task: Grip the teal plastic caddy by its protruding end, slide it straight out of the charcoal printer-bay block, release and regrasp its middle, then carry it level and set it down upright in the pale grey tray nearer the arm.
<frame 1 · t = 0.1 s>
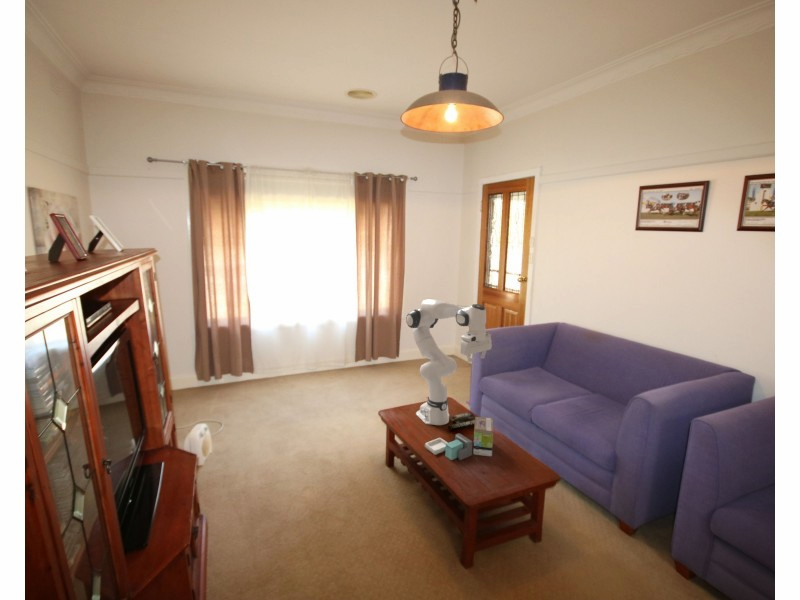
hand: (476, 360, 213), 48 cm above the table, fingers open, 8 cm apart
bay block: (459, 453, 210), on the table
tea box: (482, 448, 215), on the table
tray: (437, 447, 215), on the table
caddy: (454, 455, 208), on the table
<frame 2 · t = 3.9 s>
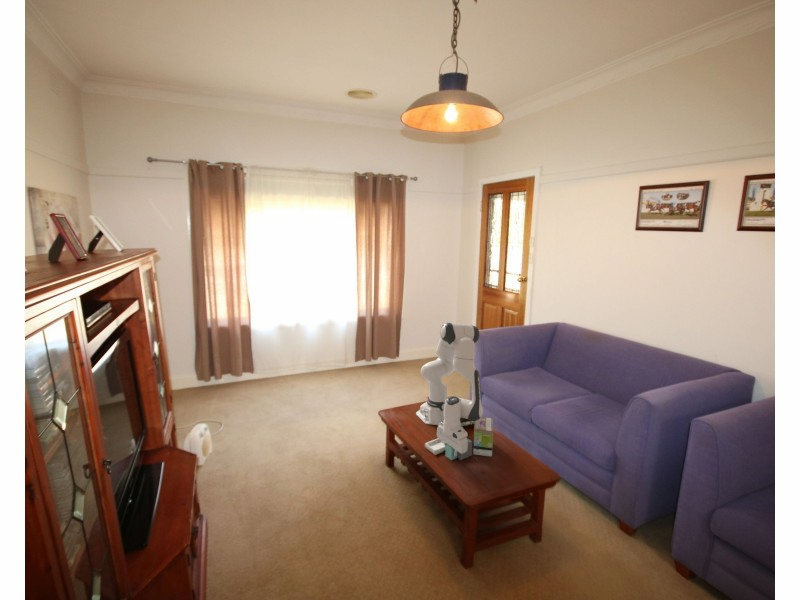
hand: (451, 452, 206), 2 cm above the table, fingers closed on caddy, 5 cm apart
caddy: (454, 455, 208), on the table, touching gripper
everything else where it was.
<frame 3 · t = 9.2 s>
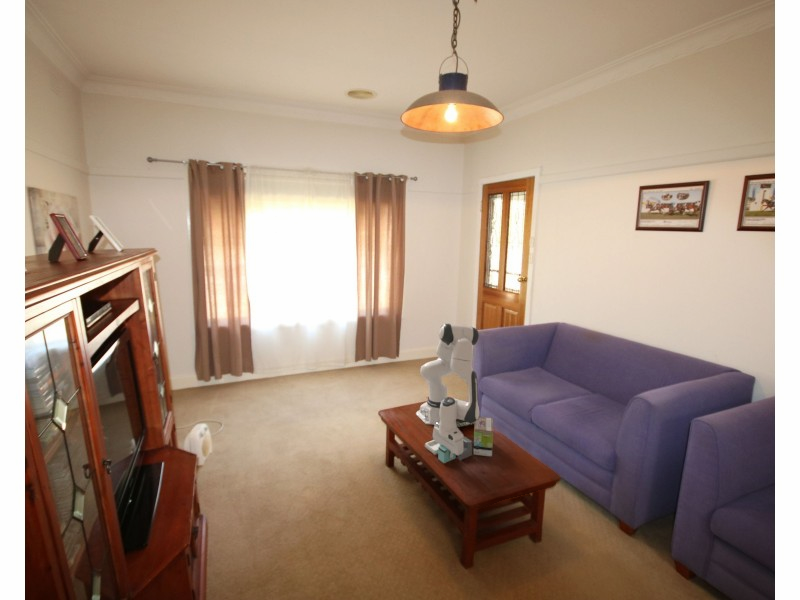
hand: (447, 454, 205), 2 cm above the table, fingers closed on caddy, 5 cm apart
caddy: (446, 458, 205), on the table, touching gripper
everything else where it was.
when the fingers open (5 cm above the table, at t = 16.1 s): caddy drops 2 cm, resting on tray.
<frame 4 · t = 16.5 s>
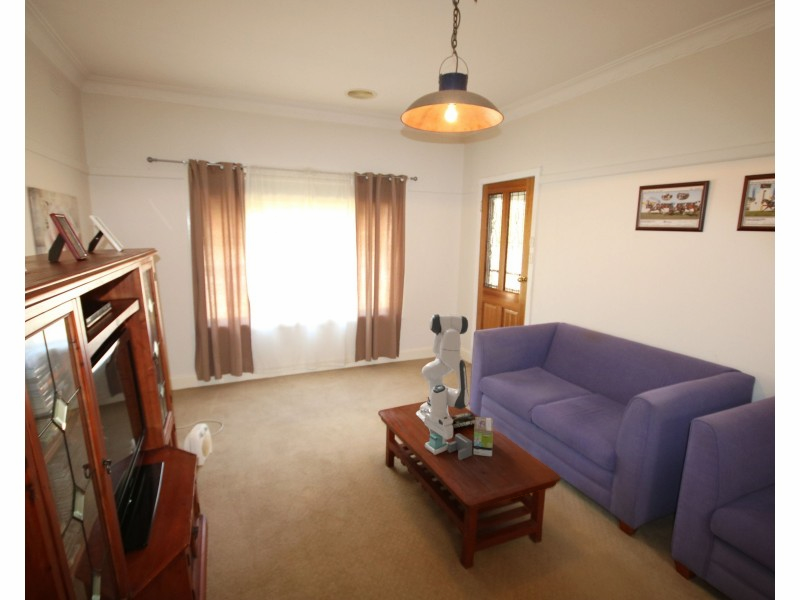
hand: (437, 439, 214), 5 cm above the table, fingers open, 8 cm apart
caddy: (437, 446, 215), point 1 cm above the table, touching tray
everything else where it was.
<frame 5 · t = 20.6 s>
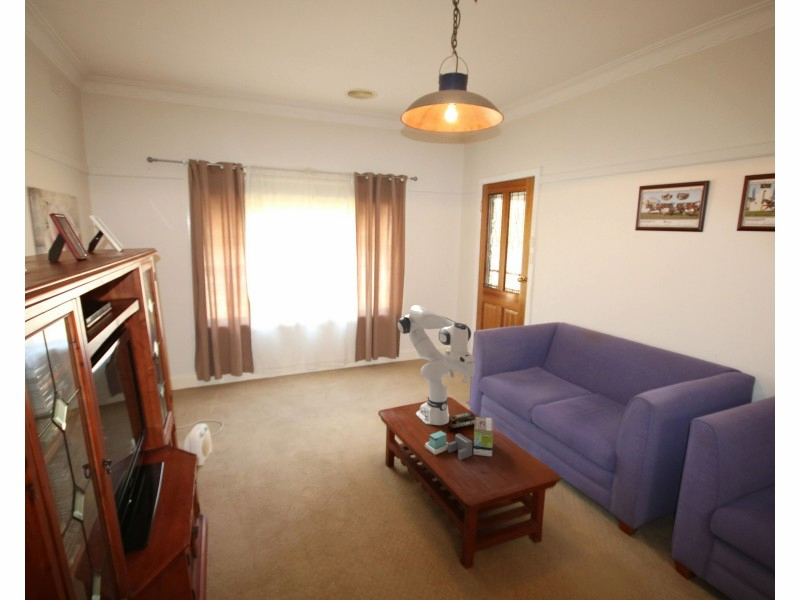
hand: (458, 379, 208), 39 cm above the table, fingers open, 8 cm apart
nothing on the table moved.
at the end: caddy inside the target area on the tray (0.2 cm from its centre), point 0.8 cm above the tray's base; caddy tilted 0°; the gripper is holding nothing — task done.
